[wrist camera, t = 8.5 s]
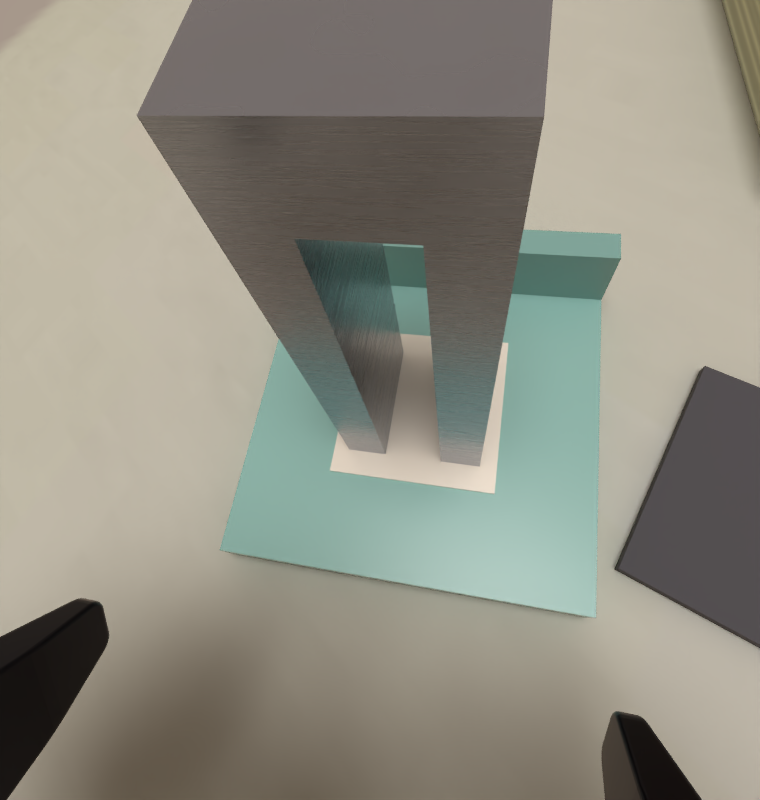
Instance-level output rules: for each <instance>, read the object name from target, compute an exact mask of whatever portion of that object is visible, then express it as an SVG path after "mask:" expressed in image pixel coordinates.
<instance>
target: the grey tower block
mask: <svg viewBox="0 0 760 800" xmlns="http://www.w3.org/2000/svg"><path fill="white" fill-rule="evenodd" d="M552 2H553V0H192V2H191V4H190V6H189V8H188V10H187V13H186V15H185V17H184V19H183V21H182V23H181V25H180V27H179V29H178V31H177V33H176V35H175V37H174V39H173V42H172V44H171V46H170V48H169V50H168V52H167V54H166V56H165V58H164V60H163V62H162V64H161V66H160V68H159V71H158V73H157V75H156V77H155V79H154V81H153V83H152V85H151V87H150V89H149V91H148V93H147V95H146V98H145V100H144V102H143V104H142V106H141V108H140V110H139V112H138V114H137V117H138V118H139V120H140V121H141V123H142V125H143V126H144V128H145V129H146V131H147V132H148V134H149V136H150V137H151V139H152V140H153V142H154V143H155V145H156V147H157V148H158V150H159V151H160V153H161V154H162V156H163V157H164V159H165V161H166V162H167V164H168V165H169V167H170V168H171V170H172V172H173V173H174V175H175V176H176V178H177V179H178V181H179V183H180V184H181V186H182V187H183V189H184V190H185V192H186V194H187V195H188V197H189V198H190V200H191V201H192V203H193V205H194V206H195V208H196V209H197V211H198V212H199V214H200V216H201V217H202V219H203V220H204V222H205V223H206V225H207V227H208V228H209V230H210V231H211V233H212V234H213V236H214V238H215V239H216V241H217V242H218V244H219V245H220V247H221V249H222V250H223V252H224V253H225V255H226V256H227V258H228V260H229V261H230V263H231V264H232V266H233V267H234V269H235V271H236V272H237V274H238V275H239V277H240V278H241V280H242V282H243V283H244V285H245V286H246V288H247V289H248V291H249V293H250V294H251V296H252V297H253V299H254V300H255V302H256V304H257V305H258V307H259V308H260V310H261V311H262V313H263V315H264V316H265V318H266V319H267V321H268V322H269V324H270V326H271V327H272V329H273V330H274V332H275V333H276V335H277V336H278V338H279V340H280V341H281V343H282V344H283V346H284V347H285V349H286V351H287V352H288V354H289V355H290V357H291V358H292V360H293V362H294V363H295V365H296V366H297V368H298V369H299V371H300V373H301V374H302V376H303V377H304V379H305V380H306V382H307V384H308V385H309V387H310V388H311V390H312V391H313V393H314V395H315V396H316V398H317V399H318V401H319V402H320V404H321V406H322V407H323V409H324V410H325V412H326V413H327V415H328V417H329V418H330V420H331V421H332V423H333V424H334V426H335V428H336V429H337V431H338V432H339V434H340V435H341V437H342V439H343V440H344V442H345V443H346V445H347V446H348V448H349V450H357V451H365V452H372V453H380V454H386V450H387V445H388V439H389V433H390V427H391V422H392V416H393V410H394V404H395V399H396V393H397V387H398V381H399V375H400V370H401V364H402V358H403V346H402V341H401V336H400V331H399V325H398V320H397V315H396V309H395V304H394V299H393V294H392V288H391V283H390V278H389V273H388V267H387V262H386V257H385V252H384V246H383V244H402V245H422V246H423V248H424V261H425V273H426V285H427V298H428V310H429V322H430V335H431V347H432V359H433V372H434V384H435V396H436V409H437V421H438V433H439V446H440V458H441V462H449V463H456V464H464V465H472V466H479V467H480V462H481V457H482V451H483V446H484V441H485V435H486V430H487V424H488V419H489V413H490V408H491V402H492V397H493V392H494V386H495V381H496V375H497V370H498V364H499V359H500V354H501V348H502V343H503V337H504V332H505V326H506V321H507V315H508V310H509V305H510V299H511V294H512V288H513V283H514V277H515V272H516V266H517V261H518V256H519V250H520V245H521V239H522V234H523V228H524V223H525V217H526V212H527V207H528V201H529V196H530V190H531V185H532V179H533V174H534V169H535V163H536V158H537V152H538V147H539V141H540V136H541V130H542V125H543V120H544V110H545V97H546V83H547V70H548V56H549V43H550V29H551V16H552Z"/></svg>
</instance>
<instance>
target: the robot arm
mask: <svg viewBox="0 0 760 800" xmlns="http://www.w3.org/2000/svg"><path fill="white" fill-rule="evenodd" d="M108 639H109V631H108V627H107V622H106V618H105V614H104V609H103V606H102V604H101V603H100V602H98V601H94V600H89V599H83V598H80V599H76V600H74V601H72V602H69V603H67V604H65V605H63V606H61V607H59V608H57V609H55V610H53V611H51V612H49V613H47V614H45V615H43V616H41V617H39V618H37V619H35V620H33V621H31V622H29V623H27V624H25V625H23V626H21V627H19V628H17V629H15V630H13V631H11V632H9V633H7V634H5V635H3V636H1V637H0V800H7V799H8V797H9V796H10V794H11V793H12V792H13V790H14V789H15V787H16V786H17V785H18V783H19V782H20V780H21V779H22V778H23V776H24V775H25V773H26V772H27V771H28V769H29V768H30V766H31V765H32V764H33V762H34V761H35V759H36V758H37V757H38V755H39V754H40V752H41V751H42V750H43V748H44V747H45V745H46V744H47V743H48V741H49V740H50V738H51V737H52V735H53V734H54V732H55V731H56V729H57V728H58V726H59V724H60V723H61V721H62V720H63V718H64V717H65V715H66V713H67V712H68V710H69V708H70V707H71V705H72V703H73V701H74V700H75V698H76V696H77V695H78V693H79V691H80V690H81V688H82V686H83V685H84V683H85V681H86V680H87V678H88V676H89V675H90V673H91V671H92V670H93V668H94V666H95V665H96V663H97V661H98V660H99V658H100V656H101V655H102V653H103V651H104V650H105V648H106V645H107V643H108ZM602 771H603V782H604V793H605V800H702V799H701V798H700V796H699V795H698V794H697V792H696V791H695V789H694V788H693V787H692V785H691V784H690V782H689V781H688V780H687V778H686V777H685V775H684V774H683V772H682V771H681V770H680V768H679V767H678V765H677V764H676V763H675V761H674V760H673V758H672V757H671V756H670V754H669V753H668V751H667V750H666V749H665V747H664V746H663V744H662V743H661V741H660V740H659V739H658V737H657V736H656V734H655V733H654V732H653V730H652V729H651V727H650V726H649V725H648V723H647V722H646V721H645V720H644V719H643V718H642V717H640V716H638V715H633V714H629V713H624V712H619V711H616V712H614V713H613V714H612V716H611V718H610V722H609V725H608V728H607V732H606V735H605V739H604V742H603V746H602Z"/></svg>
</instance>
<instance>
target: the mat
mask: <svg viewBox="0 0 760 800" xmlns="http://www.w3.org/2000/svg"><path fill="white" fill-rule="evenodd" d="M615 570H617V571H619V572H621V573H623V574H625V575H626V576H628V577H630V578H632V579H634V580H636V581H637V582H639V583H641V584H643V585H645V586H647V587H649V588H650V589H652V590H654V591H656V592H658V593H660V594H661V595H663V596H665V597H667V598H669V599H671V600H673V601H674V602H676V603H678V604H680V605H682V606H684V607H685V608H687V609H689V610H691V611H693V612H695V613H697V614H698V615H700V616H702V617H704V618H706V619H708V620H709V621H711V622H713V623H715V624H717V625H719V626H721V627H722V628H724V629H726V630H728V631H730V632H732V633H734V634H735V635H737V636H739V637H741V638H743V639H745V640H746V641H748V642H750V643H752V644H754V645H756V646H758V647H759V648H760V388H759V387H757V386H754V385H752V384H749V383H747V382H744V381H742V380H739V379H737V378H734V377H732V376H729V375H727V374H724V373H721V372H719V371H716V370H714V369H711V368H709V367H706V366H705V367H703V368H702V369H701V370H700V372H699V374H698V377H697V379H696V381H695V384H694V386H693V388H692V391H691V393H690V395H689V398H688V400H687V402H686V405H685V407H684V409H683V412H682V414H681V416H680V419H679V421H678V423H677V426H676V428H675V430H674V433H673V435H672V437H671V440H670V442H669V444H668V447H667V449H666V451H665V454H664V456H663V458H662V461H661V463H660V465H659V468H658V470H657V472H656V475H655V477H654V479H653V482H652V484H651V486H650V489H649V491H648V493H647V496H646V498H645V500H644V503H643V505H642V507H641V510H640V512H639V514H638V517H637V519H636V521H635V524H634V526H633V528H632V531H631V533H630V535H629V537H628V540H627V542H626V544H625V547H624V549H623V551H622V554H621V556H620V558H619V561H618V563H617V565H616V568H615Z"/></svg>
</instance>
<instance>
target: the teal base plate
mask: <svg viewBox="0 0 760 800" xmlns="http://www.w3.org/2000/svg"><path fill="white" fill-rule="evenodd" d="M383 246H384V252H385V257H386V262H387V267H388V273H389V278H390V283H391V288H392V294H393V299H394V304H395V309H396V315H397V320H398V325H399V331H400V336H401V341H402V346H403V358H402V364H401V370H400V375H399V381H398V387H397V393H396V399H395V404H394V410H393V416H392V422H391V427H390V433H389V439H388V445H387V450H386V454H380V453H372V452H365V451H357V450H349V448H348V446H347V445H346V443H345V442H344V440H343V439H342V437H341V435H340V434H339V432H338V431H337V429H336V428H335V426H334V424H333V423H332V421H331V420H330V418H329V417H328V415H327V413H326V412H325V410H324V409H323V407H322V406H321V404H320V402H319V401H318V399H317V398H316V396H315V395H314V393H313V391H312V390H311V388H310V387H309V385H308V384H307V382H306V380H305V379H304V377H303V376H302V374H301V373H300V371H299V369H298V368H297V366H296V365H295V363H294V362H293V360H292V358H291V357H290V355H289V354H288V352H287V351H286V349H285V347H284V346H283V344H282V343H281V341H280V340H278V344H277V347H276V351H275V354H274V358H273V362H272V365H271V369H270V372H269V376H268V379H267V383H266V387H265V390H264V394H263V397H262V401H261V405H260V408H259V412H258V415H257V419H256V422H255V426H254V430H253V433H252V437H251V440H250V444H249V447H248V451H247V455H246V458H245V462H244V465H243V469H242V472H241V476H240V480H239V483H238V487H237V490H236V494H235V497H234V501H233V505H232V508H231V512H230V515H229V519H228V522H227V526H226V530H225V533H224V537H223V540H222V544H221V547H220V550H222V551H225V552H229V553H233V554H238V555H244V556H249V557H255V558H260V559H266V560H271V561H277V562H282V563H288V564H293V565H299V566H304V567H310V568H315V569H321V570H327V571H332V572H338V573H343V574H349V575H354V576H360V577H365V578H371V579H376V580H382V581H387V582H393V583H398V584H404V585H409V586H415V587H421V588H426V589H432V590H437V591H443V592H448V593H454V594H459V595H465V596H470V597H476V598H481V599H487V600H492V601H498V602H503V603H509V604H515V605H520V606H526V607H531V608H537V609H542V610H548V611H553V612H559V613H564V614H570V615H575V616H581V617H588V618H596V583H597V523H598V463H599V402H600V342H601V299H602V297H603V295H604V293H605V291H606V289H607V287H608V285H609V282H610V280H611V278H612V276H613V274H614V272H615V270H616V268H617V266H618V263H619V261H620V259H621V234H607V233H585V232H563V231H541V230H523V234H522V239H521V245H520V250H519V256H518V261H517V266H516V272H515V277H514V283H513V288H512V294H511V299H510V305H509V310H508V315H507V321H506V326H505V332H504V337H503V343H502V348H501V354H500V359H499V364H498V370H497V375H496V381H495V386H494V392H493V397H492V402H491V408H490V413H489V419H488V424H487V430H486V435H485V441H484V446H483V451H482V457H481V462H480V467H479V466H472V465H464V464H456V463H449V462H441V458H440V446H439V433H438V421H437V409H436V396H435V384H434V372H433V359H432V347H431V335H430V322H429V310H428V298H427V285H426V273H425V261H424V248H423V246H422V245H402V244H383Z"/></svg>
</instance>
